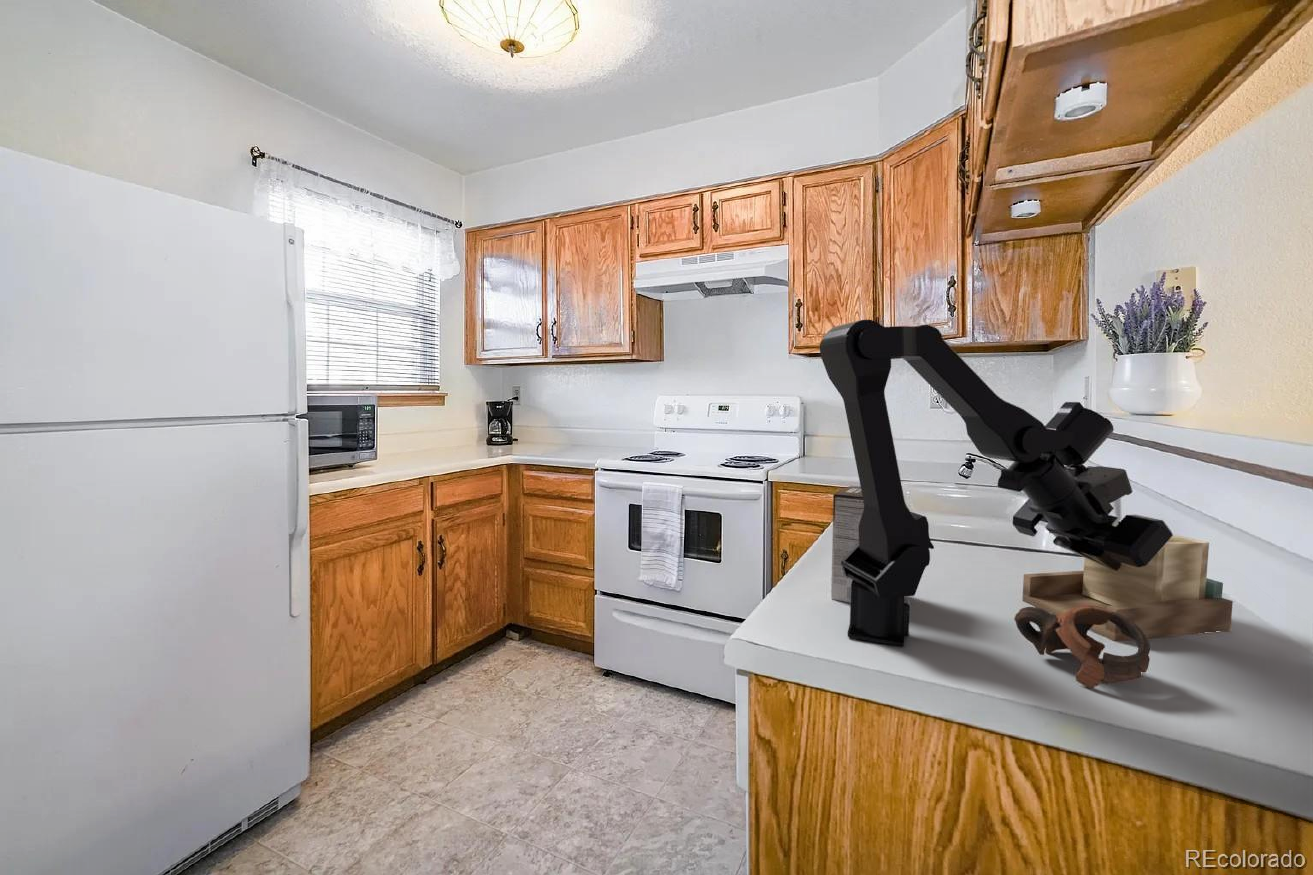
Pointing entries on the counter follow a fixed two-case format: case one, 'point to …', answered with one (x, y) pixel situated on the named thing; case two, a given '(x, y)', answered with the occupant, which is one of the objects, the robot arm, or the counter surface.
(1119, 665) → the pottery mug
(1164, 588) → the crate
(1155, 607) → the bay
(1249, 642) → the counter surface
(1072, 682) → the counter surface
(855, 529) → the coffee box
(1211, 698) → the counter surface
